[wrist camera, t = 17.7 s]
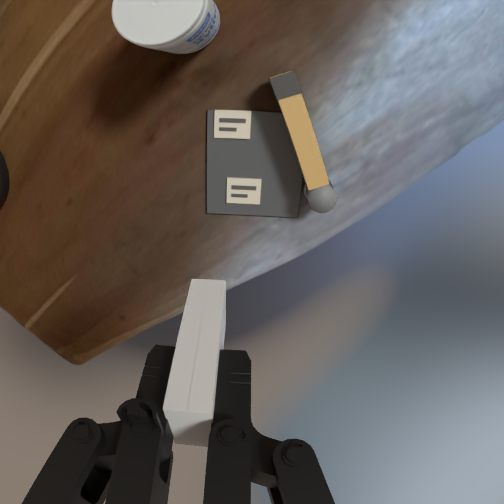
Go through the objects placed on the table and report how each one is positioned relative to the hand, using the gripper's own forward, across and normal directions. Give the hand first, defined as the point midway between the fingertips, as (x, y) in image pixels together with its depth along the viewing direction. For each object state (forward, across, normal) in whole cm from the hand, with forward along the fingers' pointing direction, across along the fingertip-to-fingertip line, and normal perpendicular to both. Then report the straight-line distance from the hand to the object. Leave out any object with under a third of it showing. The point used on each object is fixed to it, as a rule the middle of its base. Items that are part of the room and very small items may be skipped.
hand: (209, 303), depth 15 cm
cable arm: (+33, +9, 0) cm, 34 cm away
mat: (+34, +2, -4) cm, 35 cm away
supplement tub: (+35, -8, +17) cm, 39 cm away
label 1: (+34, -1, +2) cm, 34 cm away
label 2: (+34, +1, -8) cm, 35 cm away
